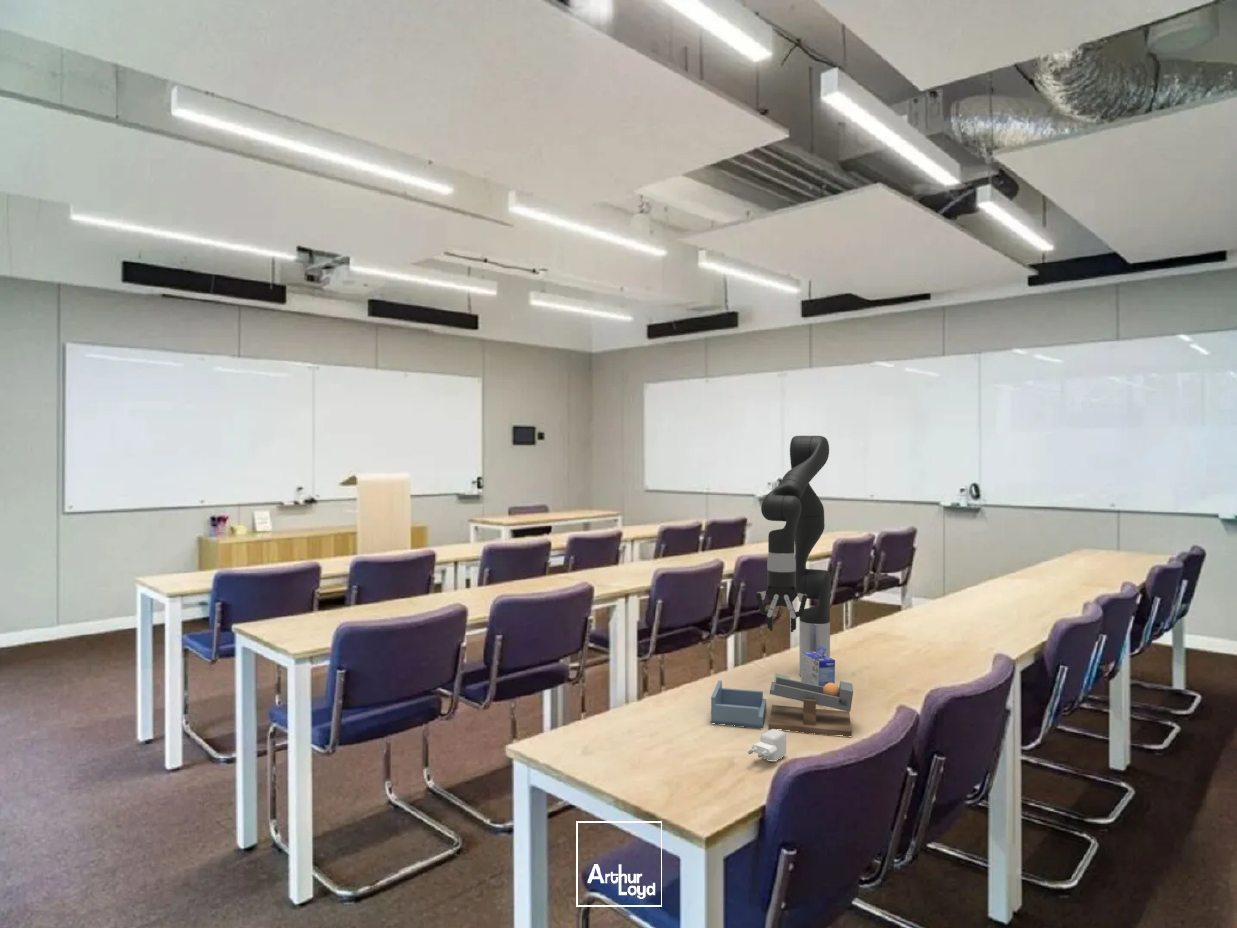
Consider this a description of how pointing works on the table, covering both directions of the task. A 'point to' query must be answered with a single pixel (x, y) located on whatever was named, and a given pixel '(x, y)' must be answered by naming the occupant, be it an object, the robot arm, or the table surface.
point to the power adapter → (771, 745)
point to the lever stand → (810, 719)
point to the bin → (737, 707)
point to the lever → (812, 692)
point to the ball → (831, 689)
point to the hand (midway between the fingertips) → (781, 630)
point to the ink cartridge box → (817, 668)
